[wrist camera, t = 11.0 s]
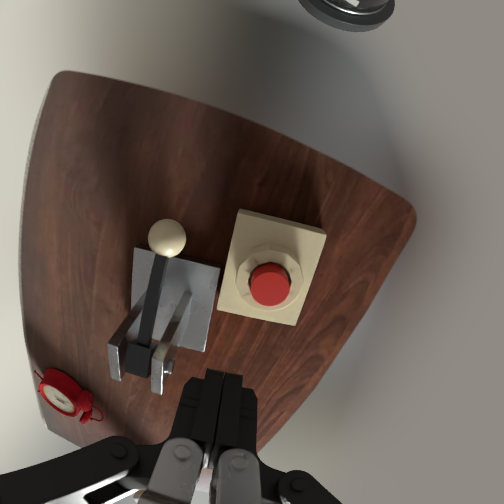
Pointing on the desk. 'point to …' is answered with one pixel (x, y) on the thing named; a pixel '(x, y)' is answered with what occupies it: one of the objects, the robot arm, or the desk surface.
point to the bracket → (167, 312)
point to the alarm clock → (66, 395)
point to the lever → (154, 294)
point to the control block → (269, 252)
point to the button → (269, 285)
